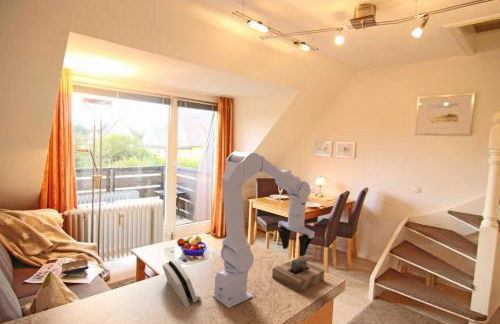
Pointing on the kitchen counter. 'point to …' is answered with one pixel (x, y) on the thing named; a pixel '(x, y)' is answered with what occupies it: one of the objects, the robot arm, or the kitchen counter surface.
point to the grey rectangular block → (298, 265)
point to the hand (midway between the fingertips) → (293, 251)
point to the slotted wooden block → (298, 276)
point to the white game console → (180, 282)
